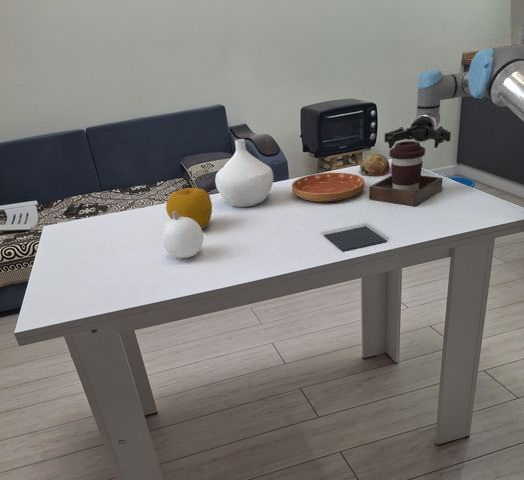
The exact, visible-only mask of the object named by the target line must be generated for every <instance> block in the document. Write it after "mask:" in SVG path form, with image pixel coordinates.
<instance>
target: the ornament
mask: <svg viewBox="0 0 524 480" xmlns="http://www.w3.org/2000/svg"><path fill="white" fill-rule="evenodd" d="M161 242H162V245H163V248H164V249H165V250H166V252H167V253H168V254H170V256H172V257H175V258H177V259H188V258H191V257H194V256H195V255H196V254H198V253H199V251H200V250H202V247H203V243H204V233H203V230H202V229H201V228H200V226H199V225H198V223H197V222H196V221H194V220H193V219H191V218H188V217H178V214H177V211H173V219H170V220H168V221H167V222H166V223H165V224H164V226H163V228H162V231H161Z"/></svg>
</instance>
